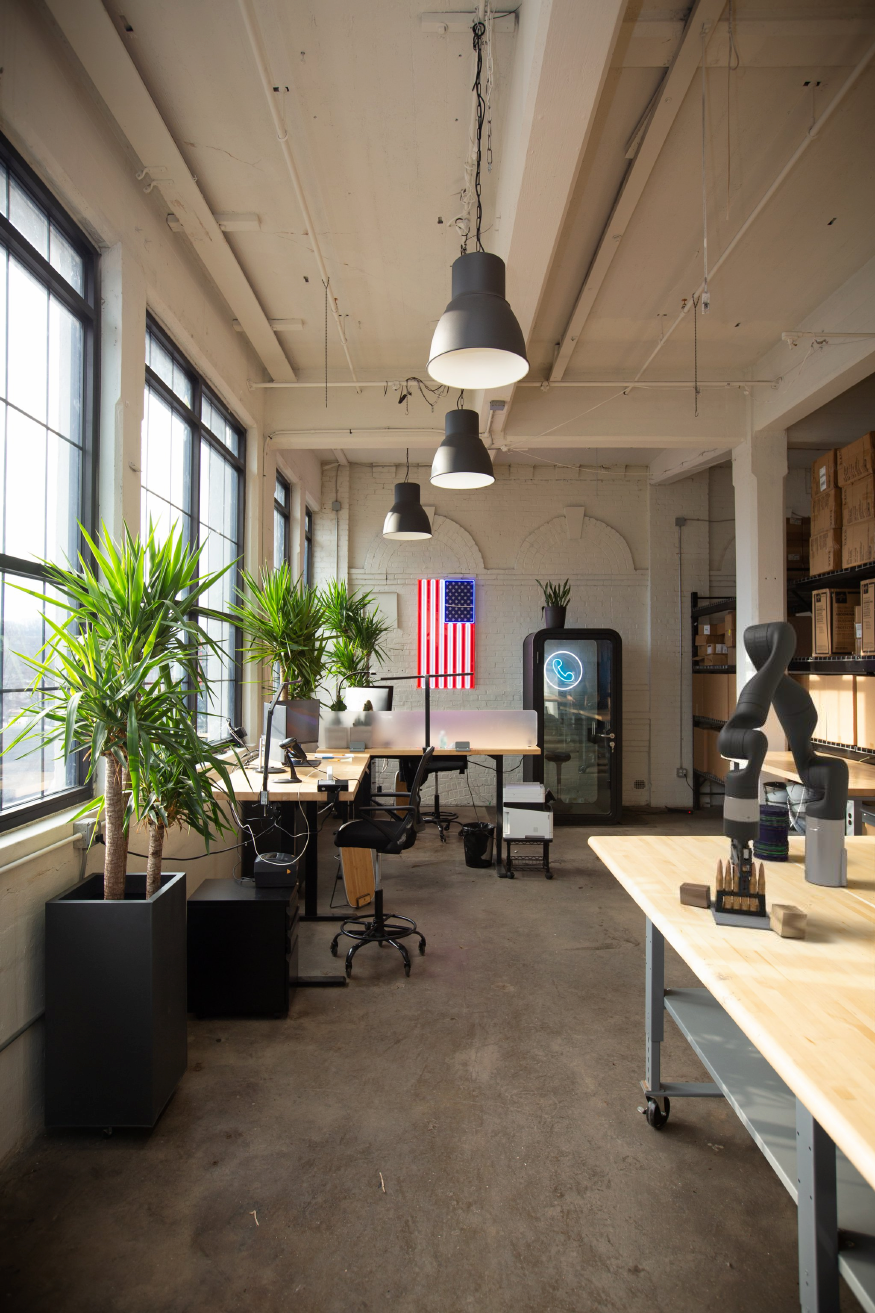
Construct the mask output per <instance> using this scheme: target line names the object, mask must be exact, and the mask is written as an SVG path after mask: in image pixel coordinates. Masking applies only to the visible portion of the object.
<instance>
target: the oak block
mask: <svg viewBox="0 0 875 1313" xmlns="http://www.w3.org/2000/svg"><path fill="white" fill-rule="evenodd" d="M807 920H808V913H806V912H804V911H803V910H802V909H800V908H799V907H798V906H795V905H790V904H778V903H771V912H770V927H771V928H772V929H773V930H774V931H775V933H776V934H778V935H779V936H780V937H787V938H798V939H806V931H807V930H806V929H807ZM774 931H773V932H774Z"/></svg>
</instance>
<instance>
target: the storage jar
mask: <svg viewBox="0 0 875 1313" xmlns="http://www.w3.org/2000/svg"><path fill="white" fill-rule="evenodd" d="M759 807H760V824H759V839H757V840H754V841H752V851H753V853H752V857H753V858H755V859H757V860H761V861H767V862H771V863H785V862H788V861H789V852H790V842H789V828H790V819H791V818H790V809H789V807H787V806H782V805H776V804H764V803H763V804H760V803H759Z"/></svg>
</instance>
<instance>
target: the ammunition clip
mask: <svg viewBox="0 0 875 1313" xmlns="http://www.w3.org/2000/svg"><path fill="white" fill-rule="evenodd" d="M725 864H726V865H725V871H724V869H723V868H724V866H723V862H722V859H721V858H719V859H718V861H717V866H716V868H717V869H716V875H715V896H714V900H715V908H714V910H715V912H718V913H728V914H737V915H747V916H757V917H766V913H767V904H766V902H767V901H766V900H767V898H766V897H767V896H766V878H765V866H764V864H763V862H762V861H761V862H760V864H759V868H758V878H757V866H756V863H755V861H752V874H753V875H752V877H750V878H749V894H740V893H739V892H738V874H737V873H738V869H737V867H736V866H734V865H733V866H734V876H733V881H732V864H731V860H730V858H729V859H727V861H726V863H725ZM742 871H747V868H742ZM724 872H725V873H724ZM723 901H724V905H723ZM748 904H749V908H748Z"/></svg>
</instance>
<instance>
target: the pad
mask: <svg viewBox="0 0 875 1313" xmlns="http://www.w3.org/2000/svg"><path fill="white" fill-rule="evenodd" d="M723 905H724V900H723ZM708 907H709V910H710V912H711V915H712V917H713V920H714V924H715V925H719V926H728V927H734V928H735V927H736V928H744V929H745V928H746V929H755V930H762V931H773V932H774V930H773V929H772V928H771V927H770V919H771V917H770V915H768V913H767V912H766V917H757V916H747V915H737V914H728V913H718V912H715V910H714V908H715V899H711V903H710V904H709V905H708ZM748 908H749V904H748Z"/></svg>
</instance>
